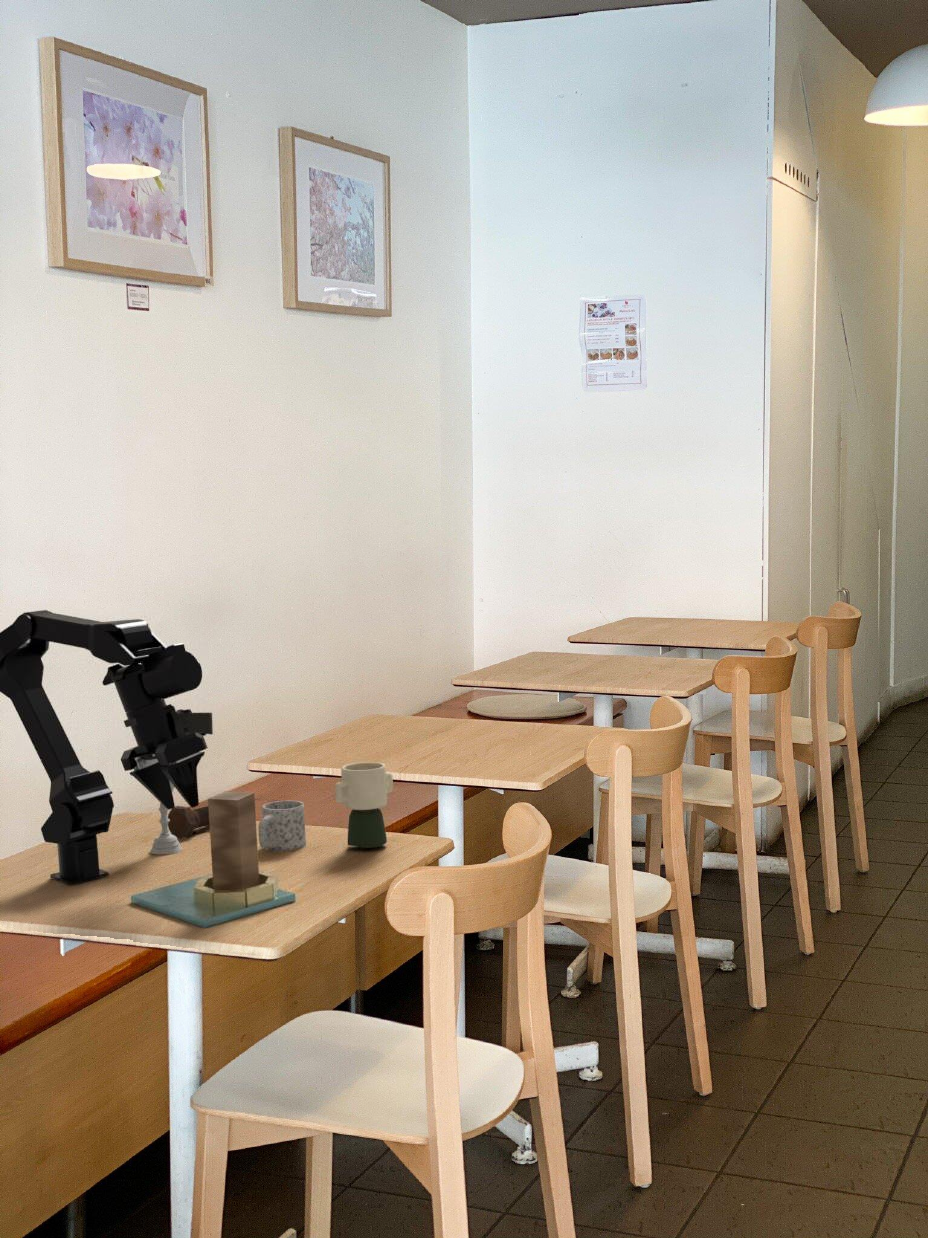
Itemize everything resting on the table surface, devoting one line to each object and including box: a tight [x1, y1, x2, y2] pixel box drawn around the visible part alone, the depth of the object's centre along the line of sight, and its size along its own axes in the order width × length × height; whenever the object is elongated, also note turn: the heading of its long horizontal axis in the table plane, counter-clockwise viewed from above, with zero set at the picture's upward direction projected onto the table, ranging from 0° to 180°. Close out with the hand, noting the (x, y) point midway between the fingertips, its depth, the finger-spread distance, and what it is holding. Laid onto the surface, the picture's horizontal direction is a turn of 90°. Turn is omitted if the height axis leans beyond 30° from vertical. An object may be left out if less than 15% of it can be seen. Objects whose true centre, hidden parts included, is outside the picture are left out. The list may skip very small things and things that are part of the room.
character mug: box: [334, 761, 394, 850], centre depth 219 cm, size 11×7×13 cm, turn 130°
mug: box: [258, 800, 307, 852], centre depth 221 cm, size 10×7×7 cm
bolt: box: [167, 805, 210, 839], centre depth 237 cm, size 6×5×15 cm
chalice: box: [149, 764, 183, 856], centre depth 222 cm, size 7×7×18 cm
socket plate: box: [130, 869, 297, 929], centre depth 193 cm, size 18×15×3 cm
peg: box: [207, 791, 260, 891], centre depth 192 cm, size 5×5×14 cm
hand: (183, 807), depth 199 cm, fingers open, 9 cm apart
